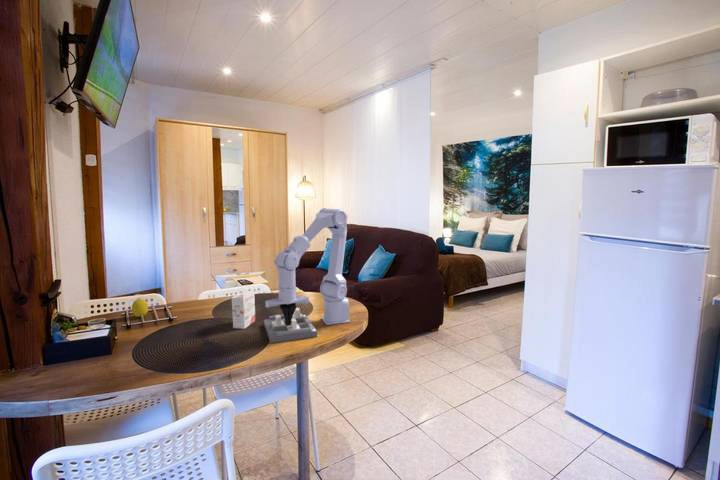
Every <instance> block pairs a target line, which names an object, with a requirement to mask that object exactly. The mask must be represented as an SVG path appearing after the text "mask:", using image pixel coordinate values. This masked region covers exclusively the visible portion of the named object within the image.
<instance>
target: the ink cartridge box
mask: <svg viewBox="0 0 720 480" xmlns="http://www.w3.org/2000/svg"><path fill="white" fill-rule="evenodd" d="M255 304H256V302H255V290H254V285H253V284H252V285H250V286H248V287H245V288H243V289H242V290H241V292H240V293H238V294H236V295H234V296H233V297H231V313H232V328H233V329H241V330H245V329H246V328H248V327H249V326H250V325H252V324H253V323H255V322H256V305H255Z"/></svg>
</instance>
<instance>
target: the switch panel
mask: <svg viewBox="0 0 720 480" xmlns="http://www.w3.org/2000/svg"><path fill="white" fill-rule="evenodd" d="M300 314H301V312H300ZM279 315H280V316H281V321H283V322H284V324H285V325H282V326H274V329H273V327H272V322H275V315H270V316H269V319H267V318H266V319H263V325H264V329H265V332H266V334H267V337H268V340H269V343H270V344H277V343H283V342H290V341H297V340H305V339H311V338H317V337H318V330H317V329H316V328H315V326H314V324H313V323H312V322H311V320H310V319H309V318H308V316H307V315H306V314H302V315H303V316H304V317H302V318H295V319H296V321H297V324H298V325H299V327H300V329H296V330H287V326H286V323H285V318H284V315H283V314H279Z"/></svg>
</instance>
